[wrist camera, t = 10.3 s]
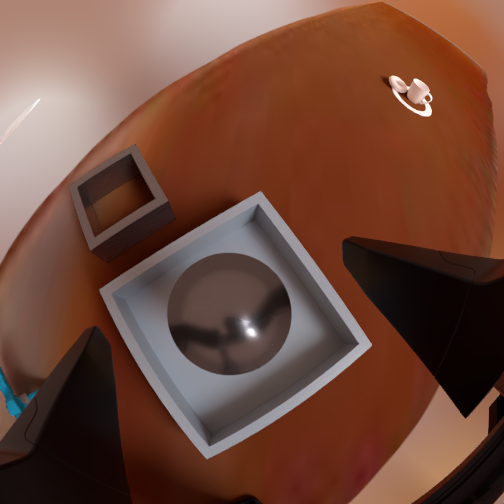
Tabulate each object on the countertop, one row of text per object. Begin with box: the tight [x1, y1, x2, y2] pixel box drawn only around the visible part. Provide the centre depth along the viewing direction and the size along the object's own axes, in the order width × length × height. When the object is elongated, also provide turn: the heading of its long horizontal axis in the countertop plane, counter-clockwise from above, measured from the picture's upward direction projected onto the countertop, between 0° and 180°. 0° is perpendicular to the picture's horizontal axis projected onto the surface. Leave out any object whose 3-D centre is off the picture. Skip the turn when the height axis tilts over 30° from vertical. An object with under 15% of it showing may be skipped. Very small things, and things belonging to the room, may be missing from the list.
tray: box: [99, 191, 372, 459], centre depth 20 cm, size 15×15×4 cm
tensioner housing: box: [69, 144, 176, 263], centre depth 22 cm, size 8×8×4 cm
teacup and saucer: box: [389, 76, 432, 116], centre depth 32 cm, size 9×8×4 cm
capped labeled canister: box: [167, 253, 292, 375], centre depth 15 cm, size 4×4×13 cm
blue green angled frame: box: [0, 367, 38, 419], centre depth 15 cm, size 11×6×10 cm
